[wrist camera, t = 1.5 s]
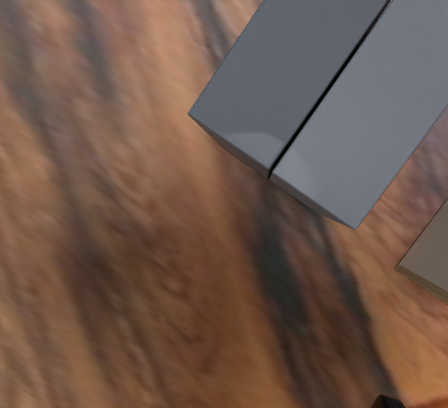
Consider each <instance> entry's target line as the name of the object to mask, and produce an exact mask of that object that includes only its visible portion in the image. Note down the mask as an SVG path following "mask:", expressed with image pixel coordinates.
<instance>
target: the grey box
mask: <svg viewBox="0 0 448 408" xmlns="http://www.w3.org/2000/svg"><path fill="white" fill-rule="evenodd" d="M390 1H391V0H263V2H262V3H261V5H260V6H259V8H258V9H257V11H256V12H255V14H254V15H253V17H252V18H251V20H250V21H249V23H248V24H247V26H246V27H245V29H244V30H243V32H242V33H241V35H240V36H239V38H238V39H237V41H236V42H235V44H234V45H233V47H232V48H231V50H230V51H229V53H228V54H227V56H226V57H225V59H224V60H223V62H222V63H221V65H220V66H219V68H218V69H217V71H216V72H215V74H214V75H213V77H212V78H211V80H210V81H209V83H208V84H207V86H206V87H205V89H204V90H203V91H202V93H201V94H200V96H199V97H198V99H197V100H196V102H195V103H194V105H193V106H192V108H191V109H190V111H189V112H188V115H189V116H190V117H191V118H192V119H193V120H194V121H195V122H196V123H197V124H198V125H199V126H200V127H202V128H203V129H204V130H205V131H206V132H207V133H208V134H209V135H210V136H211V137H212V138H213V139H214V140H215V141H216V142H217V143H218V144H219V145H220V146H221V147H223V148H224V149H225V150H226V151H228V152H229V153H231V154H232V155H234V156H235V157H236V158H238V159H239V160H241V161H242V162H244V163H245V164H247V165H248V166H249V167H251V168H252V169H254V170H255V171H257V172H258V173H260V174H261V175H262V176H264V177H265V178H267V179H268V178H269V176H270V175H271V177H270V181H271V182H273V183H274V184H275V185H277V186H278V187H280V188H281V189H283V190H284V191H285V192H287V193H288V194H290V195H291V196H293V197H294V198H296V199H297V200H298V201H300V202H301V203H303V204H304V205H306V206H307V207H309V208H310V209H311V210H313V211H315V212H317V213H319V214H321V215H323V216H325V217H328V218H330V219H332V220H334V221H336V222H338V223H341V224H343V225H345V226H347V227H349V228H352V229H354V230H356V229H357V228H358V227H359V226H360V224H361V223H362V222H363V220H364V219H365V217H366V216H367V215H368V213H369V212H370V211H371V209H372V208H373V207H374V205H375V204H376V202H377V201H378V200H379V198H380V197H381V196H382V194H383V193H384V192H385V190H386V189H387V188H388V186H389V185H390V183H391V182H392V181H393V179H394V178H395V177H396V175H397V174H398V173H399V171H400V170H401V168H402V167H403V166H404V164H405V163H406V162H407V160H408V159H409V158H410V156H411V155H412V154H413V152H414V151H415V149H416V148H417V147H418V145H419V144H420V143H421V141H422V140H423V139H424V137H425V136H426V134H427V133H428V132H429V130H430V129H431V128H432V126H433V125H434V124H435V122H436V121H437V120H438V118H439V117H440V115H441V114H442V113H443V111H444V110H445V109H446V107H447V106H448V0H392V2H391V3H390V5H389V6H388V7H387V5H388V4H389V2H390ZM386 7H387V9H386ZM385 9H386V10H385ZM384 10H385V12H384ZM383 12H384V13H383ZM382 13H383V14H382ZM381 15H382V16H381ZM380 16H381V17H380ZM379 18H380V19H379ZM378 19H379V20H378ZM377 21H378V22H377ZM376 22H377V23H376ZM374 25H375V26H374ZM372 28H373V29H372ZM370 31H371V32H370ZM271 173H272V174H271Z"/></svg>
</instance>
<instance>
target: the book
mask: <svg viewBox="0 0 448 408" xmlns="http://www.w3.org/2000/svg"><path fill="white" fill-rule="evenodd" d="M395 269H396V270H398V271H399V272H401V273H402V274H404V275H405V276H406V277H408V278H409V279H411V280H412V281H414V282H415V283H416V284H418V285H419V286H421V287H422V288H424V289H425V290H427V291H428V292H429V293H431V294H432V295H434V296H435V297H437V298H438V299H440V300H441V301H442V302H444V303H445V304H447V305H448V199H447V201H446V202H445V203H444V205H443V206H442V207H441V209H440V210H439V211H438V213H437V214H436V215H435V217H434V218H433V219H432V221H431V222H430V223H429V225H428V226H427V227H426V229H425V230H424V231H423V233H422V234H421V235H420V236H419V238H418V239H417V240H416V242H415V243H414V244H413V246H412V247H411V248H410V250H409V251H408V252H407V254H406V255H405V256H404V258H403V259H402V260H401V262H400V263H399V264H397V266H396V267H395Z"/></svg>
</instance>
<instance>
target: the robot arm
mask: <svg viewBox="0 0 448 408" xmlns="http://www.w3.org/2000/svg"><path fill="white" fill-rule="evenodd" d="M371 408H406V407H405V406H404V404H403V403H402V402H401V401H400V400H399V399H396V398H393V397H390V396H387V395H383V394H381V395H379V396H378V397H377V398H376V400H375V402H374V403H373V405H372V407H371Z"/></svg>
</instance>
